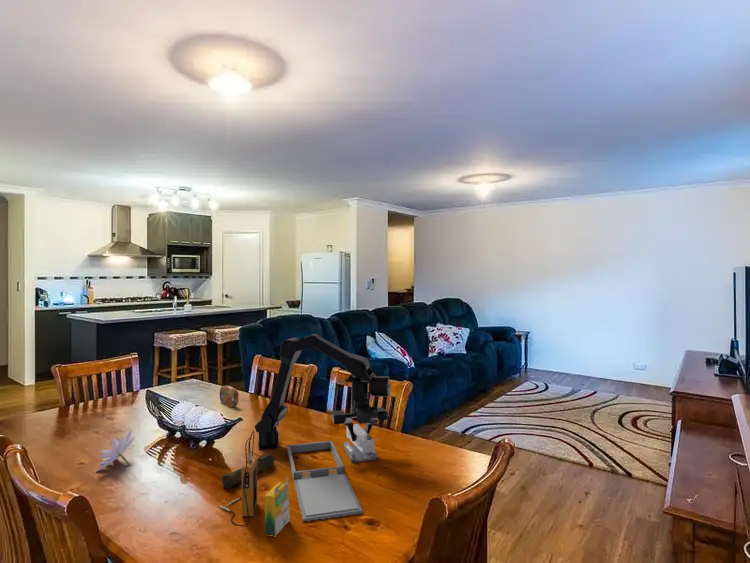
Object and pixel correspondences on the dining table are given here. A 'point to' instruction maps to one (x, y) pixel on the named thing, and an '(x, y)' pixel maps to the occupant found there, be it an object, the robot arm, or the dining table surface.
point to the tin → (229, 396)
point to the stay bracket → (358, 454)
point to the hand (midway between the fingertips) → (359, 440)
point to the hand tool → (235, 477)
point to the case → (323, 487)
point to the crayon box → (277, 508)
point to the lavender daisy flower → (116, 451)
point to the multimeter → (248, 484)
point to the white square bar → (361, 439)
